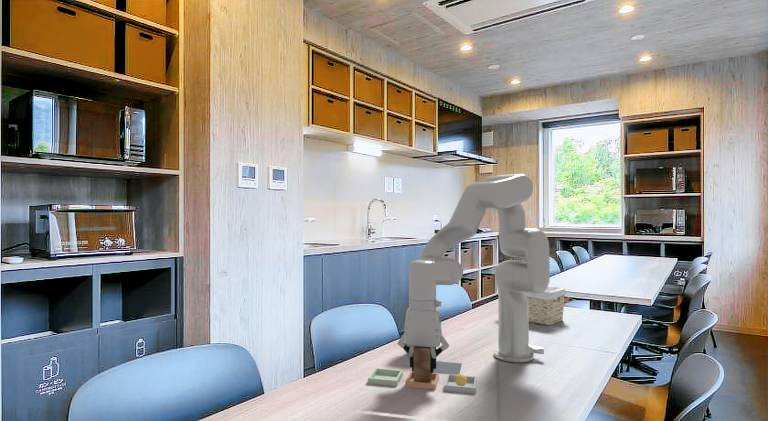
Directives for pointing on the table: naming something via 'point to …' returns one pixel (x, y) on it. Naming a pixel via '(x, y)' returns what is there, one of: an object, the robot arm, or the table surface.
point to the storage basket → (546, 305)
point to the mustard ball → (460, 380)
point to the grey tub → (467, 388)
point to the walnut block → (422, 364)
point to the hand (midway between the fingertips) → (423, 369)
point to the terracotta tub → (422, 385)
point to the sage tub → (385, 377)
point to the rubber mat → (447, 368)
